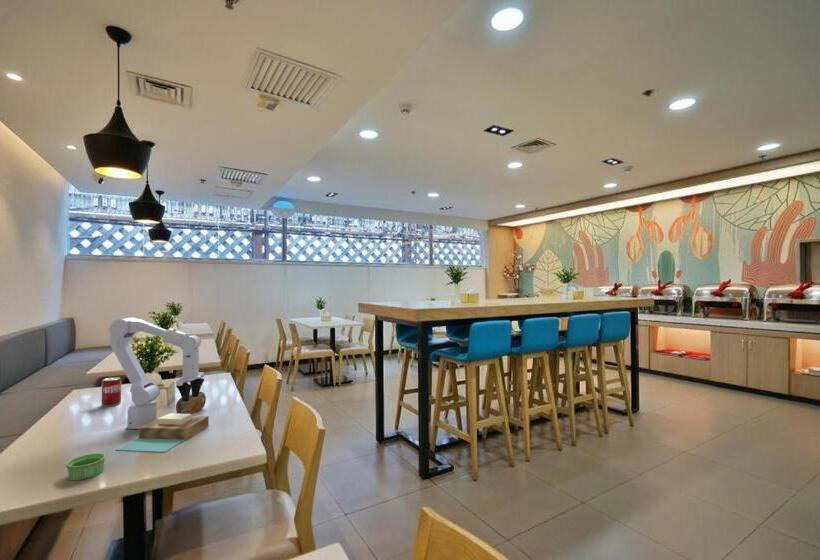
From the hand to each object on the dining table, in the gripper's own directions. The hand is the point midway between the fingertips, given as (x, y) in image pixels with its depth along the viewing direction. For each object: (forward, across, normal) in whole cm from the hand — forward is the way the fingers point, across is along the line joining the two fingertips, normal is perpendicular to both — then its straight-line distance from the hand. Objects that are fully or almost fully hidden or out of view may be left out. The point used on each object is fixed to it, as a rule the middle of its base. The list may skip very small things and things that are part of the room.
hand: (190, 399), depth 157 cm
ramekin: (+10, -42, +4) cm, 43 cm away
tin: (+10, +12, +8) cm, 18 cm away
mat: (+10, -21, 0) cm, 23 cm away
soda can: (+10, +20, +53) cm, 58 cm away
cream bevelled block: (+6, -9, 0) cm, 11 cm away
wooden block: (+10, -9, 0) cm, 13 cm away
